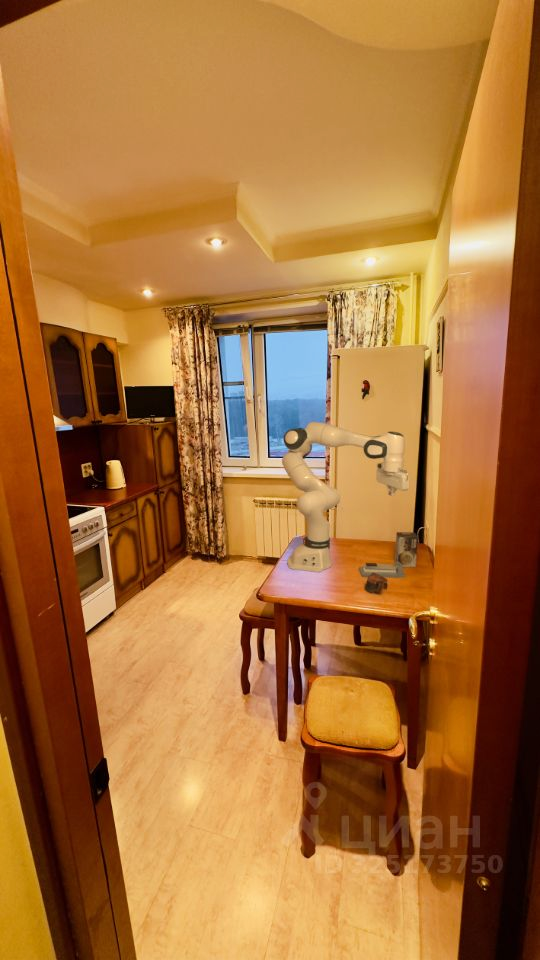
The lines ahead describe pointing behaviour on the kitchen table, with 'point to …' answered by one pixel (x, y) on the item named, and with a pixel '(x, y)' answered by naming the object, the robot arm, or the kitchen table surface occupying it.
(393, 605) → the kitchen table surface
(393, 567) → the arm
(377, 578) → the pottery mug
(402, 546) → the coffee box
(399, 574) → the base
